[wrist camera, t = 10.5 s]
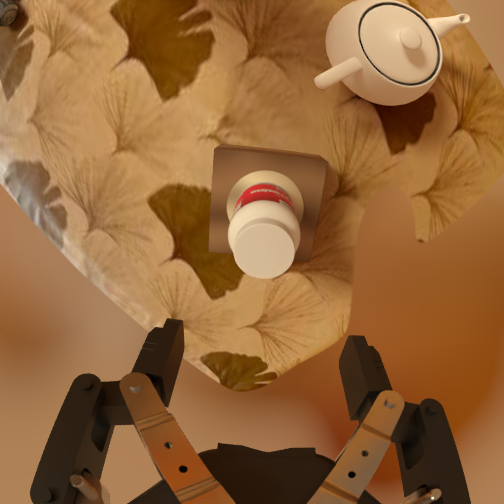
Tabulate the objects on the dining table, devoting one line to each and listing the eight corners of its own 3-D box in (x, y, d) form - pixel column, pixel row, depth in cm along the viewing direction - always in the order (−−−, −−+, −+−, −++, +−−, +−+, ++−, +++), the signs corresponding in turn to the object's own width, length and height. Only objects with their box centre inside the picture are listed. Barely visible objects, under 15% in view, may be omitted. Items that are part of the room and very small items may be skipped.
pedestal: (220, 144, 35) (213, 149, 30) (319, 155, 35) (328, 162, 30) (214, 235, 40) (208, 252, 35) (304, 244, 40) (309, 262, 35)
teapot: (337, 136, 34) (366, 146, 24) (274, 45, 29) (279, 18, 19) (459, 71, 27) (508, 68, 18) (408, -12, 23) (446, -38, 13)
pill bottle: (302, 196, 32) (320, 236, 22) (276, 242, 34) (281, 298, 24) (250, 170, 31) (244, 199, 21) (226, 219, 33) (210, 268, 23)
